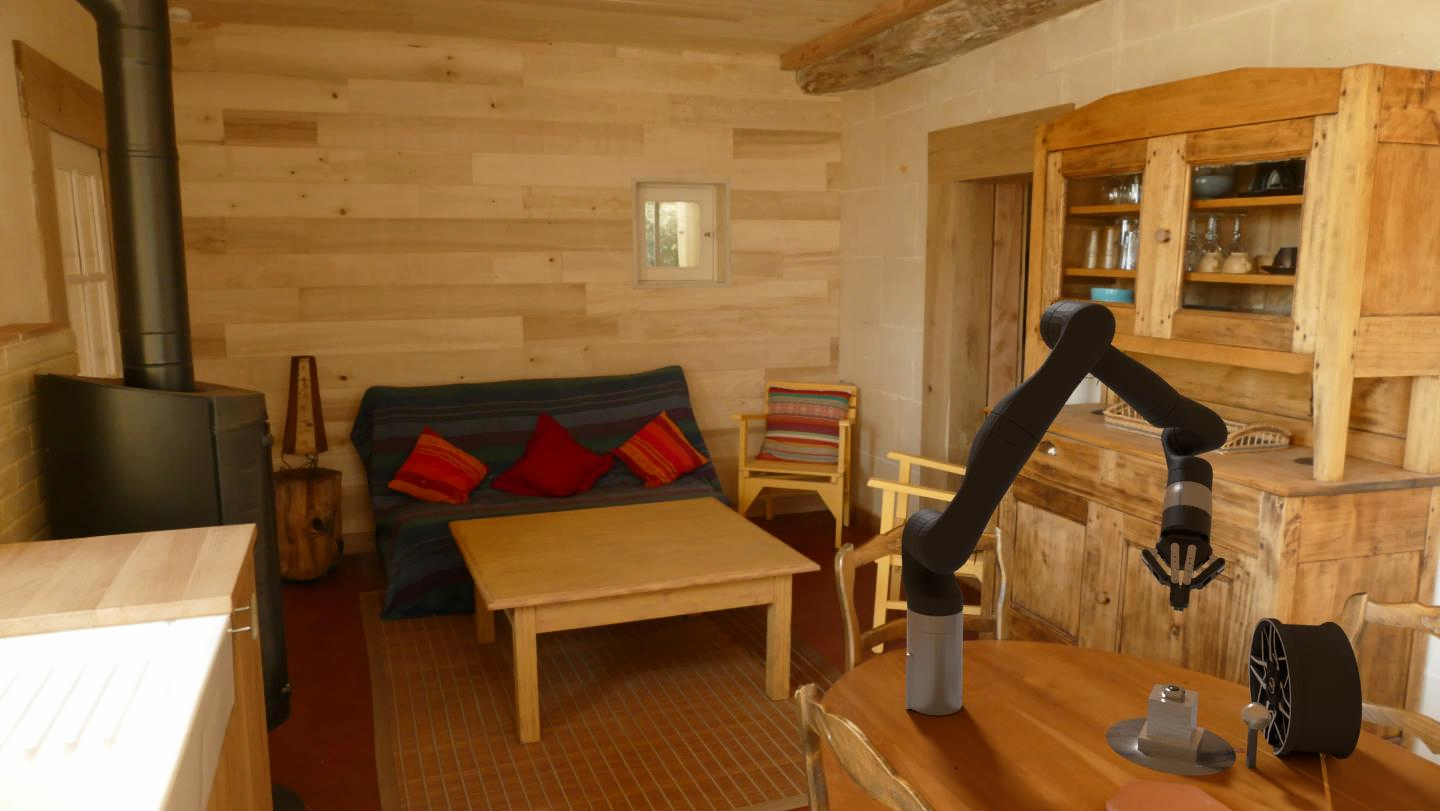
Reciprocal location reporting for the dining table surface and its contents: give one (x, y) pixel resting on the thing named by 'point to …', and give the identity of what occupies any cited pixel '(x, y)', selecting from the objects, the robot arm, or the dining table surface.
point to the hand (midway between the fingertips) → (1178, 608)
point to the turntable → (1210, 759)
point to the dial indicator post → (1254, 728)
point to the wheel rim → (1306, 687)
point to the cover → (1172, 724)
